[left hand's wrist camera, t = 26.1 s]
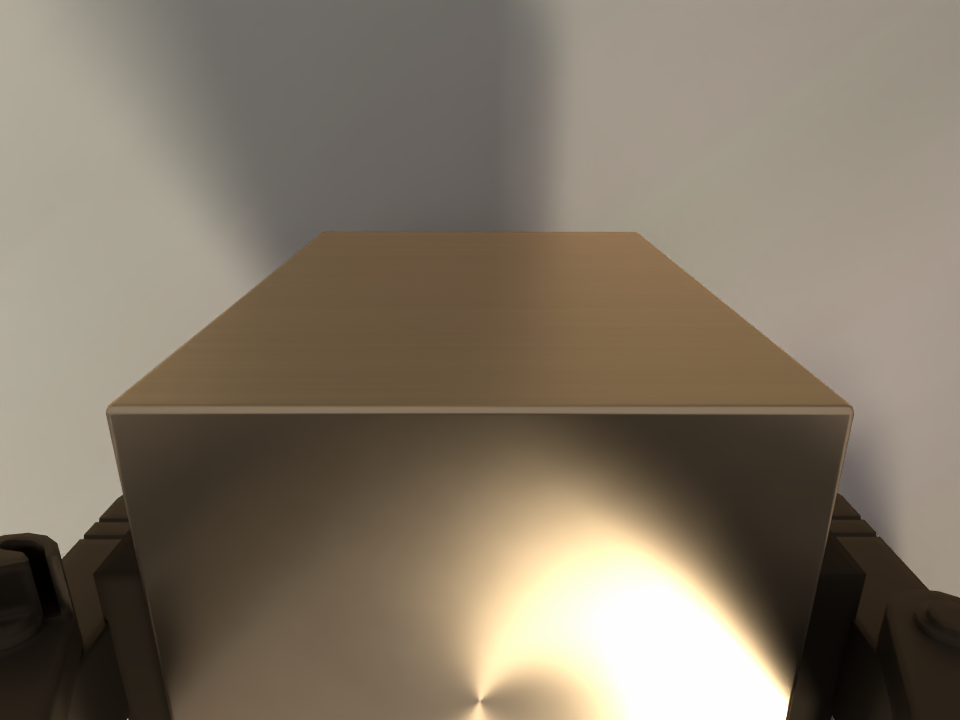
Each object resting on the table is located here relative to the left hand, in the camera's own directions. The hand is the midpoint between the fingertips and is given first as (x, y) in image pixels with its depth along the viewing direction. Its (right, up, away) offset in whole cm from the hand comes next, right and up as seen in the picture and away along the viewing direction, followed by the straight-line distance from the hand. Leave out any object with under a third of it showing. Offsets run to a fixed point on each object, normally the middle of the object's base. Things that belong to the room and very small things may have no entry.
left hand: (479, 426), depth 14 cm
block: (0, +1, +3) cm, 3 cm away
